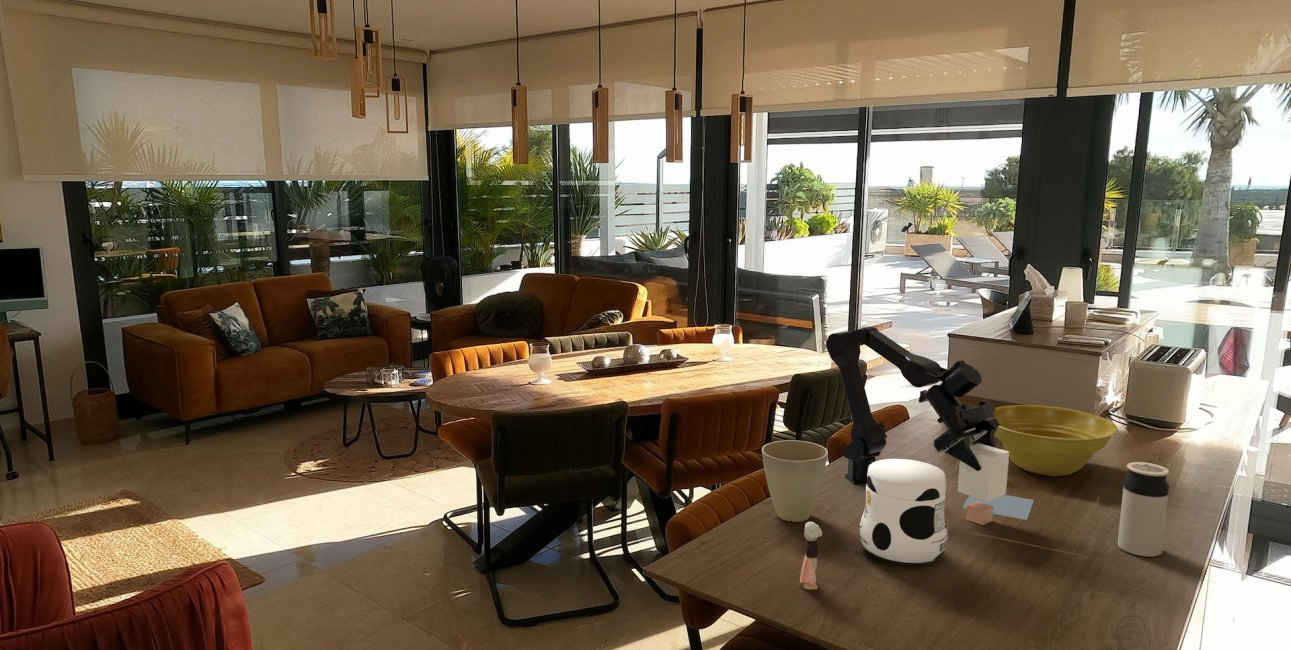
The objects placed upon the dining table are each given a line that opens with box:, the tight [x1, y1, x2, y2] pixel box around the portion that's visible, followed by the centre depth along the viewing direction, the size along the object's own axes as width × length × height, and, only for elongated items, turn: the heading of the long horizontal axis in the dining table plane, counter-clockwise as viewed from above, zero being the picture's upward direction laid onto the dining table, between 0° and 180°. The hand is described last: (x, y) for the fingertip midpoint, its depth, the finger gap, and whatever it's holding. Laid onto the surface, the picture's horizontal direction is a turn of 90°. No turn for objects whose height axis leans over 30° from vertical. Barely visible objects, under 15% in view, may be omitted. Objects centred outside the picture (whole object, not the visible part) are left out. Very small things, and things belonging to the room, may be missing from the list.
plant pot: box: [761, 439, 829, 523], centre depth 188 cm, size 15×15×16 cm
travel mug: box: [1117, 461, 1170, 558], centre depth 170 cm, size 8×8×18 cm
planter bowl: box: [993, 404, 1119, 477], centre depth 220 cm, size 32×32×13 cm
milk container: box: [859, 458, 948, 566], centre depth 169 cm, size 17×17×18 cm
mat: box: [962, 494, 1035, 521], centre depth 195 cm, size 14×14×1 cm
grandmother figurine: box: [799, 521, 823, 591], centre depth 155 cm, size 8×4×13 cm, turn 5°
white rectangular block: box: [957, 443, 1010, 501], centre depth 184 cm, size 7×7×10 cm
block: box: [965, 501, 994, 526], centre depth 186 cm, size 4×4×4 cm
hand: (989, 466), depth 183 cm, fingers closed on white rectangular block, 7 cm apart
